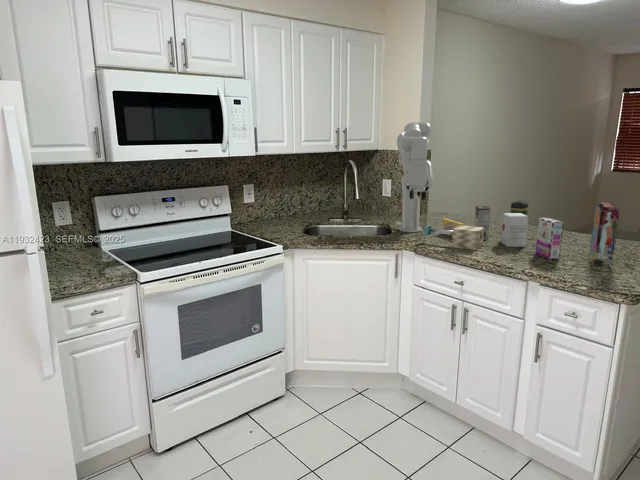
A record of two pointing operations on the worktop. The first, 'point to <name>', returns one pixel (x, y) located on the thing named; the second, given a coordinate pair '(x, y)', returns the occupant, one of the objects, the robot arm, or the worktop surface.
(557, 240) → the candy bar box
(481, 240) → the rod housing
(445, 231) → the teal and silver rod
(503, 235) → the supplement box
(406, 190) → the robot arm
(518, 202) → the coffee jar
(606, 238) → the box
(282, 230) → the worktop surface
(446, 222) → the candy box
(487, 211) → the coffee box
